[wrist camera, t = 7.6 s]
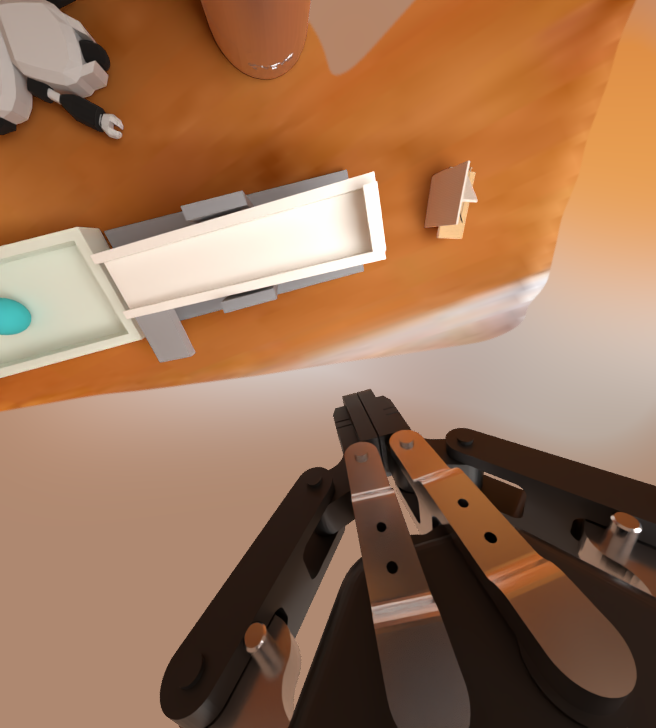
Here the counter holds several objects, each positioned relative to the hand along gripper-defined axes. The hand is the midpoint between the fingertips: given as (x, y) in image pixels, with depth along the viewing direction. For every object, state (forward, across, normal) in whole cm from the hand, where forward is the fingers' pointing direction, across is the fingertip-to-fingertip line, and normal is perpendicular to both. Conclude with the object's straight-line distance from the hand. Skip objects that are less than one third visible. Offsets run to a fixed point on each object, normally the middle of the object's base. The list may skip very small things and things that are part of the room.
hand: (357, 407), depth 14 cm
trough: (+19, +5, -5) cm, 20 cm away
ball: (+22, +33, -7) cm, 40 cm away
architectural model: (+26, -18, -9) cm, 33 cm away
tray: (+25, +30, -7) cm, 40 cm away
